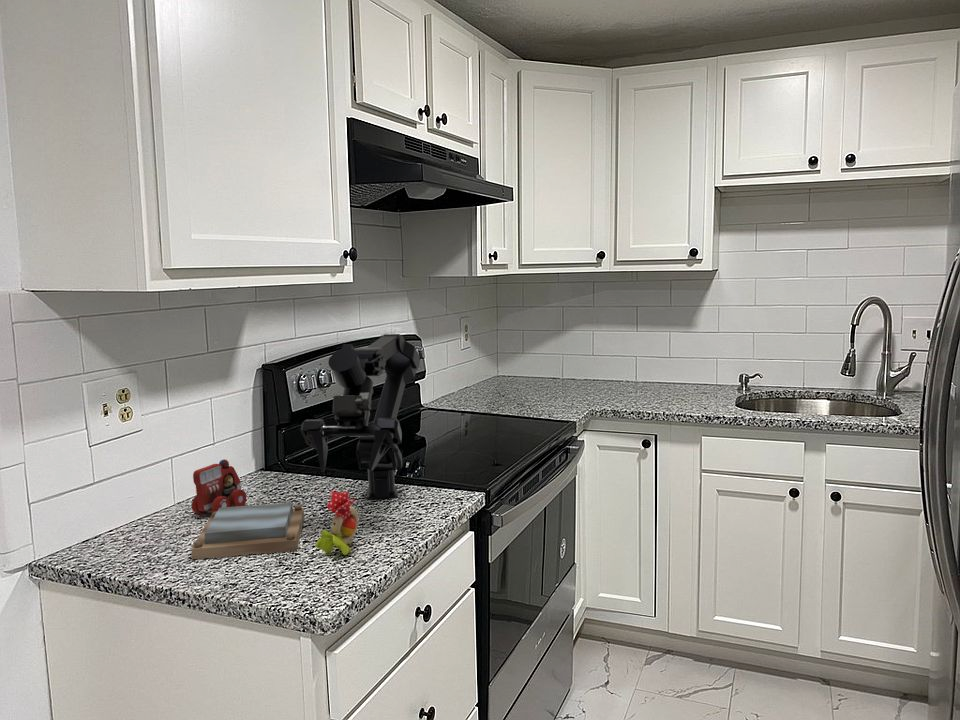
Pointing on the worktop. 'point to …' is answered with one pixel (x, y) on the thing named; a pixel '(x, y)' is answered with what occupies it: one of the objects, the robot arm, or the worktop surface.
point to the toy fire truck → (217, 488)
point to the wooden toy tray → (250, 531)
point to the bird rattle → (340, 524)
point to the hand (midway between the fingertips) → (346, 470)
